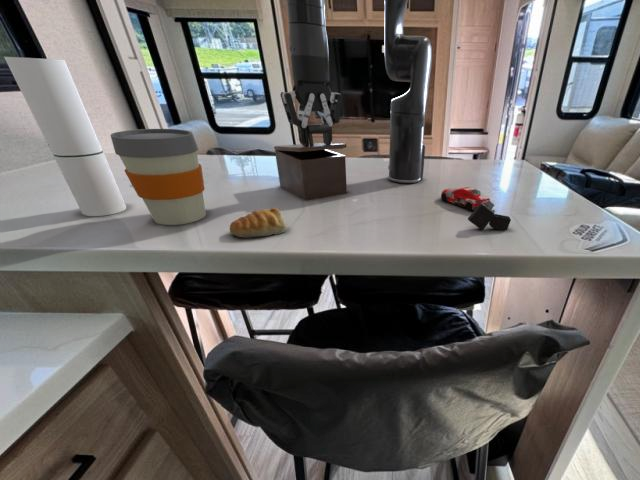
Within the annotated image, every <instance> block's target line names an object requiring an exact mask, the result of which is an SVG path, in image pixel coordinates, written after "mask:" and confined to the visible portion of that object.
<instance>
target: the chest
mask: <svg viewBox="0 0 640 480" xmlns="http://www.w3.org/2000/svg"><path fill="white" fill-rule="evenodd" d="M274 154H275V161H276V168H277V175H278V182H279V187H280V188H282V189H284V190H286V191H288V192H289V193H291V194H293V195H295V196H297V197H299V198H301V199H302V200H304V201H309V200H313V199H319V198H324V197H325V198H326V197H330V196H336V195H342V194H346V193H348V192H347V191H348V189H347V188H348V187H347V185H348V184H347V165H346V163H347V162H346V155H345V154H341V153H339V152H335V151H332V150H330V149H326V150H316V151H305V152H297V151H284V150H275V149H274Z"/></svg>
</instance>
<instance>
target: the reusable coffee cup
mask: <svg viewBox="0 0 640 480" xmlns="http://www.w3.org/2000/svg"><path fill="white" fill-rule="evenodd" d="M110 139H111V142H112V147H113V150H114V153H115V155H117V156H118V157H119V158H120V160H121V162H122V164H123V165H124V168H125V169H124V173H125V175H126V176H127V178H128V180H129V182H130V184H131V186H132V187H133V189H134V191H135V193H136V195H137V196H138V197H139V198H141V199H142V201H143V202H144V204H145V207H146V208H147V211H148V212H149V213H150V215H151V217H152V219H153V221H154V223H156V224H158V225H163V226H164V225H165V226H180V225H187V224H191V223H195V222H198V221H200V220H202V219H204V218H205V217H206V215H207V213H206V206H205V199H204V198H205V197H204V191H205V181H204V175H203V167H202V164H200V163H199V156H198V151H199V147H198V145H197V141H196V139H195V137H194V133H193V132H192V131H190V130H187V129H178V128H139V129H129V130H127V129H126V130H121V131H115V132H113V133H111V134H110Z"/></svg>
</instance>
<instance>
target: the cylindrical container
mask: <svg viewBox="0 0 640 480" xmlns="http://www.w3.org/2000/svg"><path fill="white" fill-rule="evenodd" d="M3 58H4V60H5V62H6V64H7V66H8V68H9V70H10V72H11V74H12V76H13V78H14V80H15V82H16V84H17V86H18V88H19V90H20V92H21V94H22V96H23V98H24V100H25V102H26V104H27V107H28V108H29V110H30V112H31V114H32V116H33V118H34V120H35V122H36V124H37V126H38V128H39V130H40V132H41V134H42V136H43V138H44V140H45V142H46V144H47V146H48V148H49V150H50V152H51V155H52V156H53V158H54V160H55V163H56V164H57V166H58V168H59V170H60V172H61V174H62V176H63V178H64V180H65V182H66V183H67V186H68V188H69V190H70V193H71V194H72V196H73V197H74V198H73V199H74V200H75V202H76V204H77V206H78V208H79V210H80V212H81V214H82V215H83V216H87V217H103V216H110V215H114V214H115V215H116V214H118V213H121V212H123V211H125V210H127V205H126V203H125V200H124V198H123V196H122V193H121V191H120V189H119V186H118V183H117V181H116V179H115V177H114V174H113V172H112V170H111V166H110V164H109V162H108V160H107V158H106V155H105V153H104V150H103V148H102V145H101V143H100V140H99V139H98V136H97V134H96V131H95V129H94V127H93V124H92V122H91V120H90V119H91V118H90V117H89V115H88V112H87V110H86V108H85V105H84V102H83V99H81V95H80V93H79V90H78V88H77V86H76V83H75V80H74V79H73V76H72V74H71V71H70V70H69V67H68V64H67V62H66V60H65V59H57V58H56V59H55V58H36V57H15V56H4V57H3Z"/></svg>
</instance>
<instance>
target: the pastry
mask: <svg viewBox="0 0 640 480" xmlns="http://www.w3.org/2000/svg"><path fill="white" fill-rule="evenodd" d="M286 229H287V225H286V221H285V219H284V217H283V215H282V213H281V211H280V210H279V209H278V208H277V207H271V208H269V209H259V210H254V211H252V212H251V213H248V214H246V215H245V216H240V217H239V218H238V219H235V220H233V221H232V222H231V223H230V225H229V233H230V234H231V235H233V236H236V237H239V238H243V239H244V238H245V239H246V238H247V239H250V238H259V237H268V236H271V235H280V234H282V233H284V232H286Z"/></svg>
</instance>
